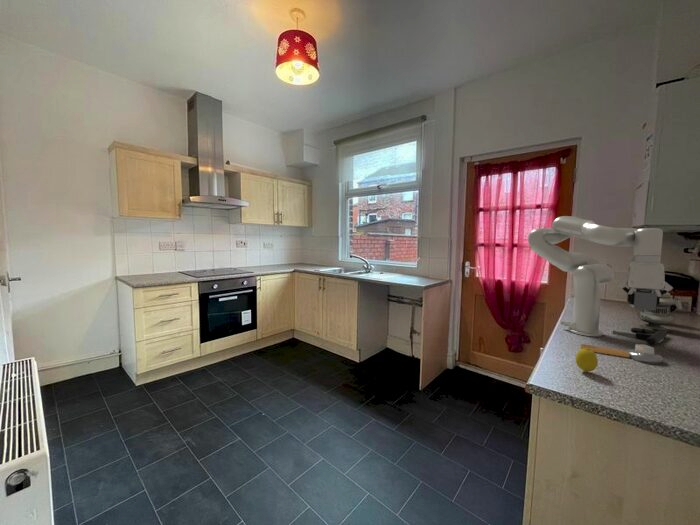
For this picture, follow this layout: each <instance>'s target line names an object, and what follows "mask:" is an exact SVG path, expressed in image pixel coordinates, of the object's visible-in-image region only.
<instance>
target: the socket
mask: <svg viewBox="0 0 700 525" xmlns="http://www.w3.org/2000/svg"><path fill="white" fill-rule="evenodd" d="M633 295H634V298H633V304H632V305H631V304H629V306H630V307H631V308H633V309H639V310H642V309H646V310H656V304H657V293H655V292H653V290H652V289H638V288H636V289H635V290H634V292H633Z"/></svg>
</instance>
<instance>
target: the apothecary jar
mask: <svg viewBox="0 0 700 525" xmlns="http://www.w3.org/2000/svg"><path fill="white" fill-rule="evenodd" d="M652 291H653V290H652ZM653 292H654V291H653ZM675 303H676V301H675V300H674V298H672V297H671V293H670V292H667V293H665V294H663V295H662V296H661V297H660V301H659V305H658V304H657V307H656V310H646V309H641V311H639V312H638V314H637V317H638V319H640V320H641V321H643V322H645V324H641V325H639V328H641V329H648V330H655V331H660V330H662V331H665V332H666V333H668V332H667V331H669V332H670V330H669V329H668V328H667V327H664V326H663V325H669V324H672V323H673V322H674V320H675V319H674V316H672V315H671V308H672V306H673V305H675ZM646 323H647V324H646ZM661 325H662V326H661Z"/></svg>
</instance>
